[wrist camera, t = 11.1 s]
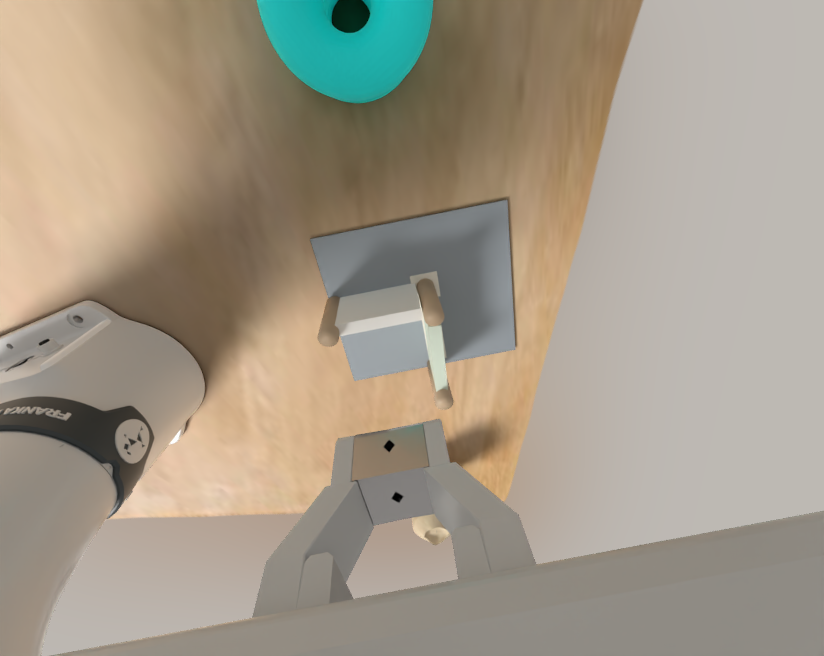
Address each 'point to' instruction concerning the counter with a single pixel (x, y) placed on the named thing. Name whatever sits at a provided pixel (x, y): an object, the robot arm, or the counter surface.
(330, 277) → the board
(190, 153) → the counter surface
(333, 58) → the donuts
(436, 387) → the fence panel
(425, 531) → the candle
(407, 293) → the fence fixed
